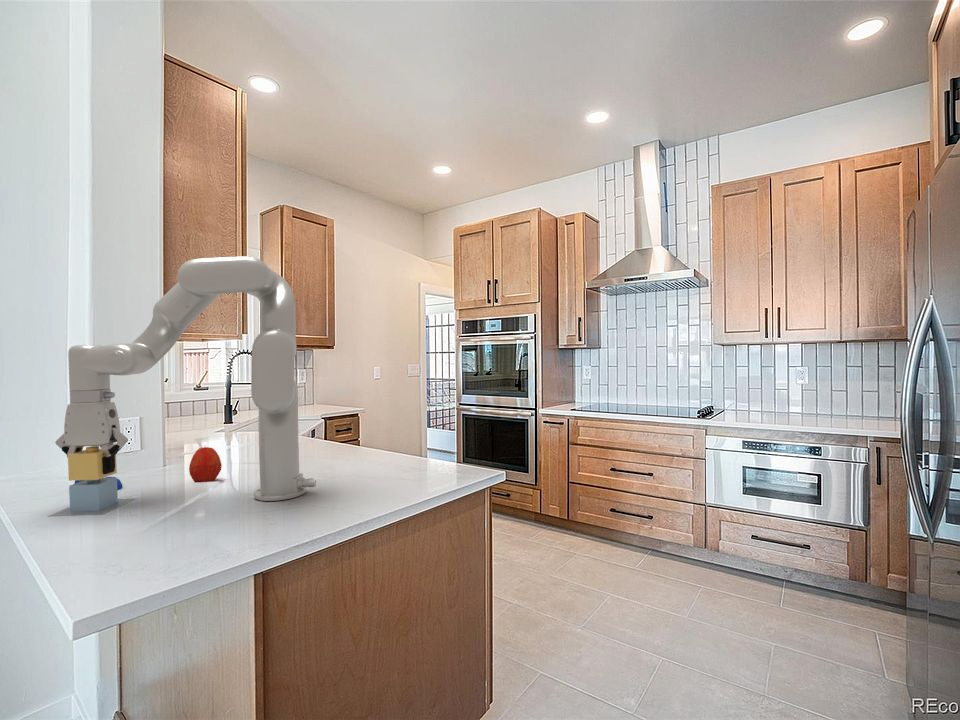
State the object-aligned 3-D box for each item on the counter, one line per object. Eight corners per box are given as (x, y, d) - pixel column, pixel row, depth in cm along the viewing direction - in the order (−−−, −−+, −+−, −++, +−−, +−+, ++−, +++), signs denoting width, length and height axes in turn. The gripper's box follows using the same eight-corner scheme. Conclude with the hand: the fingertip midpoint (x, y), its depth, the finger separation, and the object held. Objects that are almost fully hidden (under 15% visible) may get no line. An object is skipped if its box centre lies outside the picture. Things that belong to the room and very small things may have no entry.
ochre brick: (116, 472, 120) (115, 444, 120) (97, 479, 114) (96, 449, 114) (89, 473, 120) (88, 444, 120) (68, 480, 113) (67, 450, 113)
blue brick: (117, 502, 120) (116, 473, 120) (99, 510, 114) (97, 480, 114) (90, 503, 120) (89, 474, 120) (70, 511, 113) (68, 481, 113)
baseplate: (137, 503, 123) (136, 494, 123) (103, 519, 111) (103, 509, 111) (87, 504, 123) (86, 496, 122) (47, 521, 111) (47, 511, 110)
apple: (228, 481, 143) (227, 444, 143) (199, 488, 136) (197, 449, 136) (212, 477, 147) (211, 441, 147) (183, 484, 140) (182, 446, 140)
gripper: (138, 395, 121) (141, 468, 121) (64, 396, 120) (67, 470, 120) (117, 398, 113) (120, 476, 113) (38, 400, 112) (41, 478, 112)
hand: (93, 472), depth 117 cm, fingers closed on ochre brick, 6 cm apart
